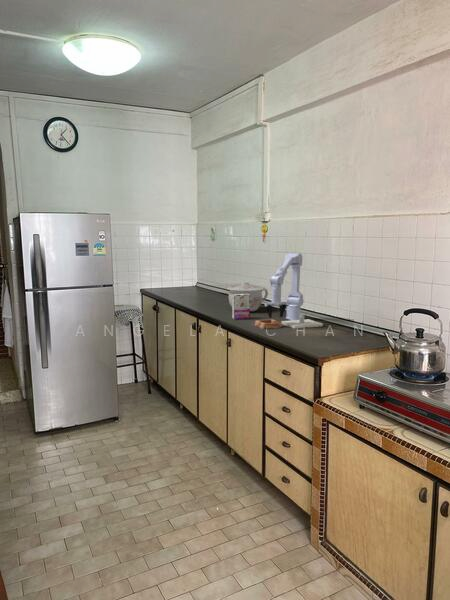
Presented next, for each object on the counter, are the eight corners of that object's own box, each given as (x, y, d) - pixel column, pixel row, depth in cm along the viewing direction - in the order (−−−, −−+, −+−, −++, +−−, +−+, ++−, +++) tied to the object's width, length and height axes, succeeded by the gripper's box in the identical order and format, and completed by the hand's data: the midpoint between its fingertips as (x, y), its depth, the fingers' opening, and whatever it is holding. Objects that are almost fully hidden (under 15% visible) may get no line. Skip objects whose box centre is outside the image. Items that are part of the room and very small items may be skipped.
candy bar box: (247, 317, 306) (248, 293, 304) (250, 319, 302) (250, 294, 299) (231, 318, 303) (232, 293, 301) (233, 319, 299) (234, 294, 296)
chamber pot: (221, 312, 325) (221, 283, 322) (233, 306, 351) (233, 280, 348) (259, 315, 316) (260, 285, 313) (268, 309, 342) (269, 281, 339)
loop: (254, 325, 281) (254, 320, 281) (272, 323, 286) (272, 319, 285) (263, 329, 270) (263, 324, 270) (281, 327, 275) (281, 322, 274)
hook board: (281, 323, 287) (281, 313, 286) (308, 321, 295) (308, 311, 294) (294, 328, 272) (294, 317, 271) (322, 326, 280) (323, 315, 279)
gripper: (268, 296, 271) (268, 319, 273) (290, 295, 276) (289, 317, 278) (263, 295, 277) (262, 317, 279) (284, 294, 283) (283, 315, 285)
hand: (275, 317), depth 279 cm, fingers open, 7 cm apart
